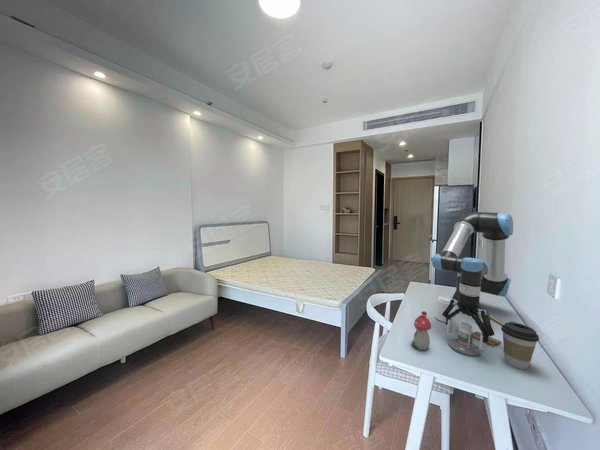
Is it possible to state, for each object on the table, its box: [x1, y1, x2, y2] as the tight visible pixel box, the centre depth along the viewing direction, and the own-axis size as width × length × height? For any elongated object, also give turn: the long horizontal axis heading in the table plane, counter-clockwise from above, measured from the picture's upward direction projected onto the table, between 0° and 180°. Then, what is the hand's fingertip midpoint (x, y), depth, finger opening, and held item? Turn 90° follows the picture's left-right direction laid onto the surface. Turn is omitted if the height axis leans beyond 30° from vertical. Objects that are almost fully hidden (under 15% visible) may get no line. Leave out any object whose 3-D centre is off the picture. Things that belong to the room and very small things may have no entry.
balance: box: [473, 312, 517, 348], centre depth 114 cm, size 7×26×16 cm, turn 27°
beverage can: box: [435, 296, 455, 323], centre depth 133 cm, size 8×8×12 cm
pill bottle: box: [457, 321, 474, 349], centre depth 106 cm, size 5×5×10 cm
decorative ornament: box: [411, 310, 432, 351], centre depth 106 cm, size 9×7×15 cm
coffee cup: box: [500, 321, 540, 370], centre depth 97 cm, size 11×11×15 cm
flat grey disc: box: [447, 337, 482, 358], centre depth 107 cm, size 12×12×1 cm
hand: (464, 340), depth 106 cm, fingers open, 13 cm apart
